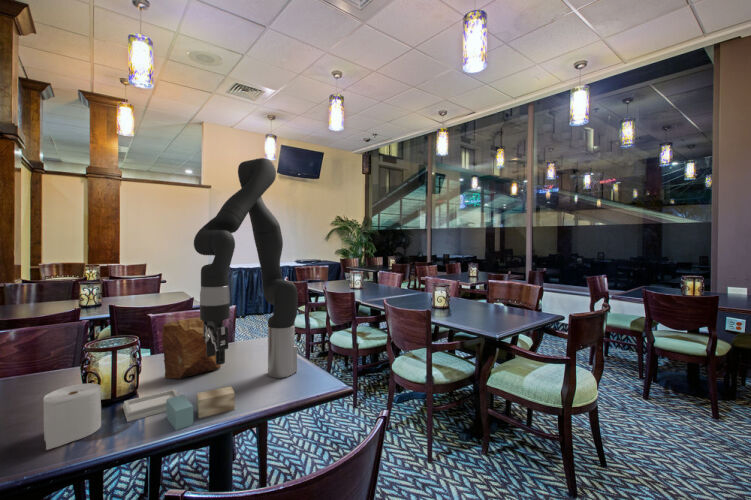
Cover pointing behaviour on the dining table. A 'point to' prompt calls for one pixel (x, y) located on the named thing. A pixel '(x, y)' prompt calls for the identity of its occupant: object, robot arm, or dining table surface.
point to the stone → (186, 349)
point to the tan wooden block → (215, 401)
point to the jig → (147, 405)
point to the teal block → (179, 412)
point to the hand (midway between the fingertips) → (215, 359)
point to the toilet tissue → (71, 414)
